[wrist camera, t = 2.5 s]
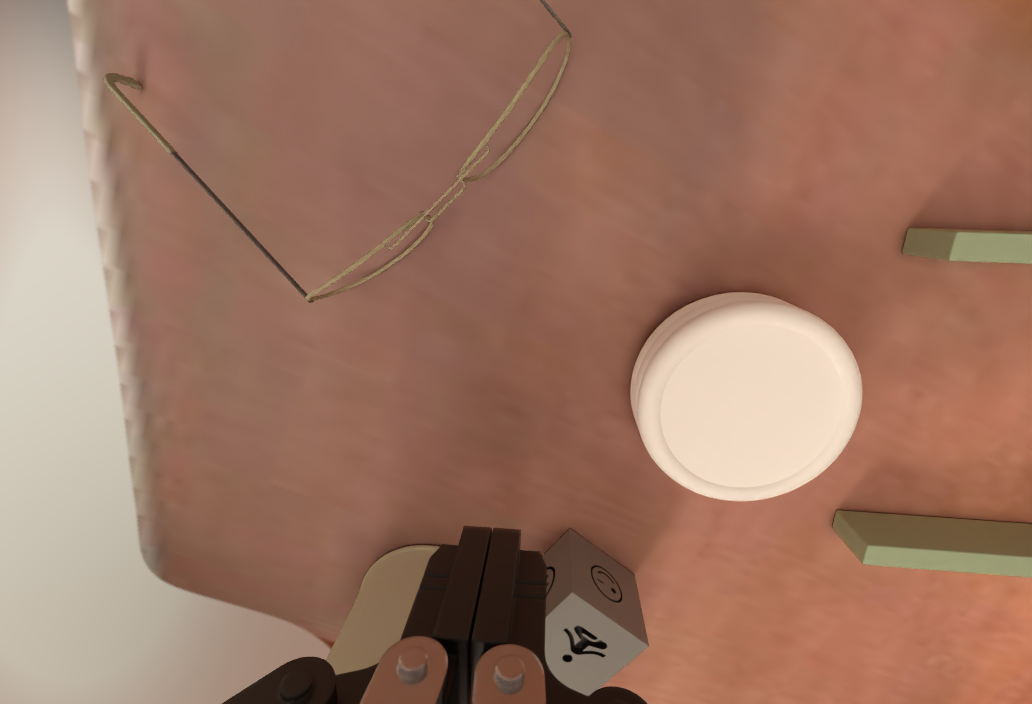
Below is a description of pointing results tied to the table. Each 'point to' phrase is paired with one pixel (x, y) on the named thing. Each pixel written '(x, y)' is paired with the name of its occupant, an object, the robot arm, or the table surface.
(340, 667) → the can
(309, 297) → the eyeglasses
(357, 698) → the robot arm
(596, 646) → the dice cube
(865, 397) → the table surface
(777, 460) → the coaster
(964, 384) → the table surface
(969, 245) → the green u-shaped frame
